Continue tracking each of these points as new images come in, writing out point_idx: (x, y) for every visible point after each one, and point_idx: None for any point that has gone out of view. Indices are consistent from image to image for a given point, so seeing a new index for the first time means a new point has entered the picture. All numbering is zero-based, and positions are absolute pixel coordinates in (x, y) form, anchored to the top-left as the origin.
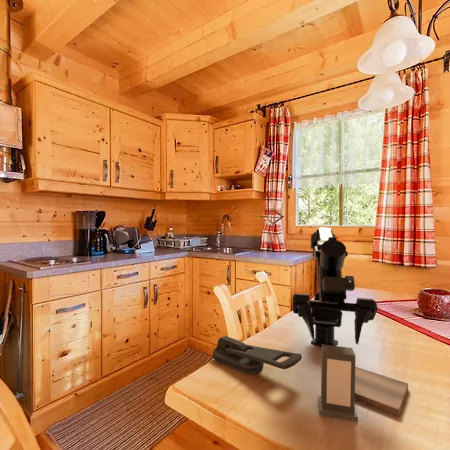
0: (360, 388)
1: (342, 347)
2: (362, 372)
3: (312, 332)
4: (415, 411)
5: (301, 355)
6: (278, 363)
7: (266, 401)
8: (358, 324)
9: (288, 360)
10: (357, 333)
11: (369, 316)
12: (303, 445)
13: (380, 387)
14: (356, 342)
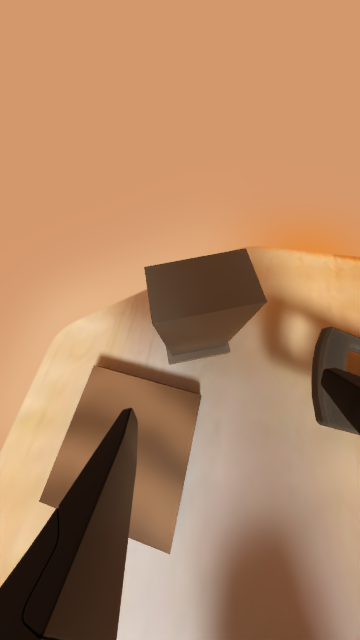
0: (154, 411)
1: (188, 310)
2: (145, 512)
3: (355, 379)
4: (67, 399)
5: (321, 421)
6: (350, 334)
7: (304, 308)
8: (67, 533)
9: (337, 360)
10: (111, 446)
11: None
12: None
13: None
14: (133, 410)
